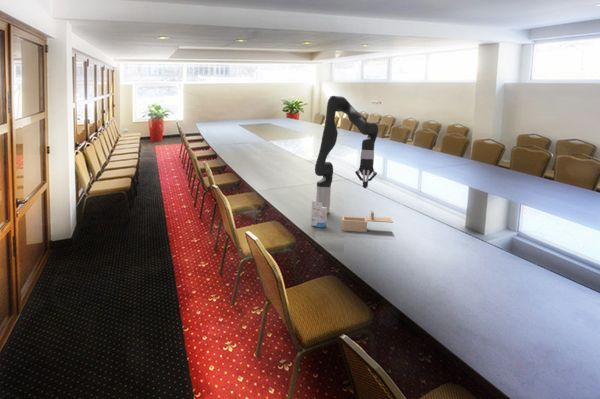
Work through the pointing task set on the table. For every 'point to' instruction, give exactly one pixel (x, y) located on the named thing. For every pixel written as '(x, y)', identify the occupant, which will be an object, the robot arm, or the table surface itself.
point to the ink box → (318, 215)
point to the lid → (378, 218)
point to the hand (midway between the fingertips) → (364, 187)
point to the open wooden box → (354, 224)
